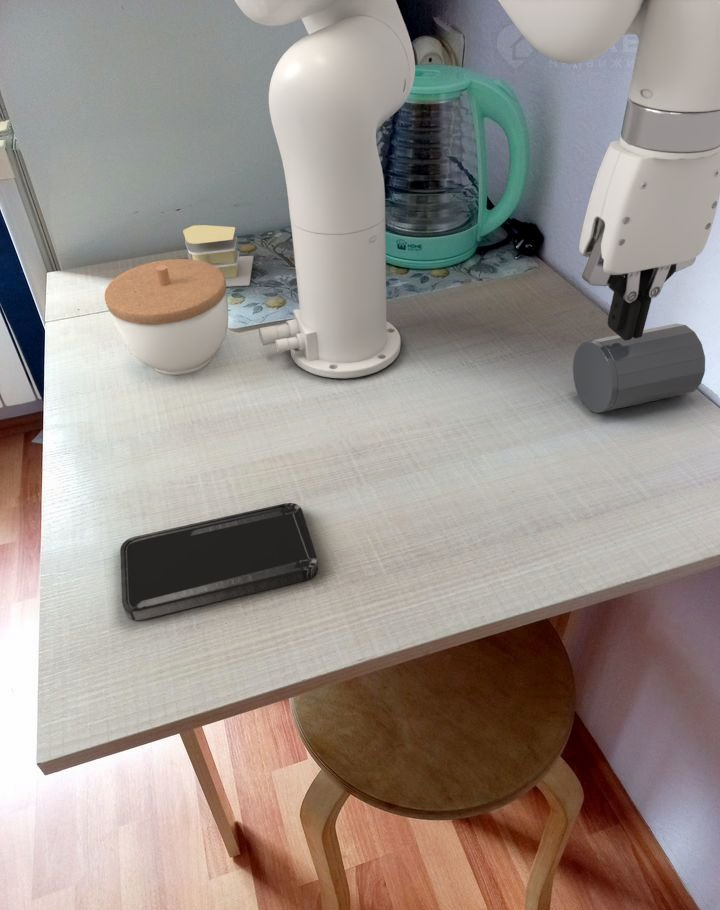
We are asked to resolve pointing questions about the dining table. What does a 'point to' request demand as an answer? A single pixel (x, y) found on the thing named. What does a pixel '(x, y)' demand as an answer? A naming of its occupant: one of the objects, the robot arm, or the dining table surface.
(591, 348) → the cup
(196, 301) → the lidded bowl
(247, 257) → the stacked layers on plate
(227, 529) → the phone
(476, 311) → the dining table surface
